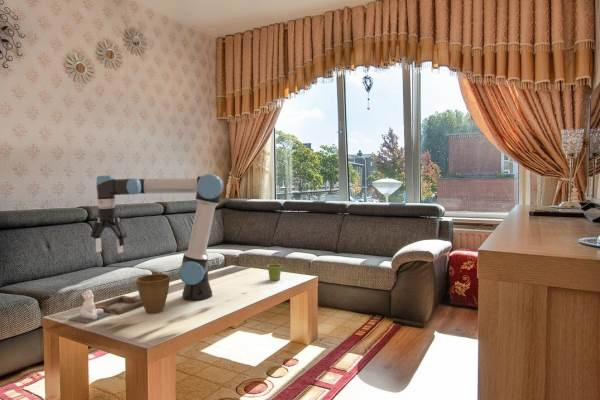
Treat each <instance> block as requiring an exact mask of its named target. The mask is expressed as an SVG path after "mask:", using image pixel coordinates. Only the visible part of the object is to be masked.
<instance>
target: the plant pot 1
mask: <svg viewBox="0 0 600 400" xmlns="http://www.w3.org/2000/svg"><path fill="white" fill-rule="evenodd" d="M170 278H171V276H170V275H169V274H166V273H156V274H155V273H154V274H147V275H146V274H145V275H143V276H139V277H137V278H136V279H135V281H136V286H137V287H136V288H137V291H138V294H139V298H141V301H142V304H143V306H142V307H143V308H144V310H145V312H146V314H150V315H153V314H154V315H155V314H159V313H162V312H163V311H164V309H165V307H166V306H165V305H166V302H167V298H168V293H169V288H170Z"/></svg>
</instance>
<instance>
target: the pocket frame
mask: <svg viewBox="0 0 600 400" xmlns="http://www.w3.org/2000/svg"><path fill="white" fill-rule="evenodd" d="M121 302H125V303H130V304H128V305H124V306H123V307H114V306H111V305H115V304H118V303H121ZM95 307H96V309H99V308H100V309H103V313H108V314H111V315H112V314H114V315H117V316H118V315H119V316H121V315H123V314H126V313H128V312H131V311H133V310H136V309H139V308H142V307H144V306H143V304H142V301H141V298H140V297H135V296H129V295H128V296H127V295H120V296H119V295H118V296H117V297H113V298H111V299H108V300H105V301H101V302H98V303H95Z"/></svg>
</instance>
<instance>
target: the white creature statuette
mask: <svg viewBox="0 0 600 400" xmlns="http://www.w3.org/2000/svg"><path fill="white" fill-rule="evenodd" d="M81 296H82V297H83V299H84V302H83V304H82V308H81V309H79V310H80V311H79V313H80V314H79V315H81V316H82V317H83V318H87V319H93V320H94V319H96V318H97V316H98V315H99V314H103V313H104V312H103V309H100V308H99V309H96V307H95V304H96V303H95V301H94V293H93V291H92V290H91V289H88V290H85V291H84V292H83V293H81Z"/></svg>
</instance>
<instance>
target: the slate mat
mask: <svg viewBox="0 0 600 400" xmlns="http://www.w3.org/2000/svg"><path fill="white" fill-rule="evenodd" d="M111 315H112V313H106V312H103V314H99V315H98V316H97V318H96V319H94V320H93V319H87V318H83V317H82V316H81V314H79V315H76V316H73V317H69V318H68V319H67V320H68V321H73V322H76V321H77V323H82V322H84V323H83V324H90V323H93V322H95V321H99V320H101V319H104V318H107V317H109V316H111Z"/></svg>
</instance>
